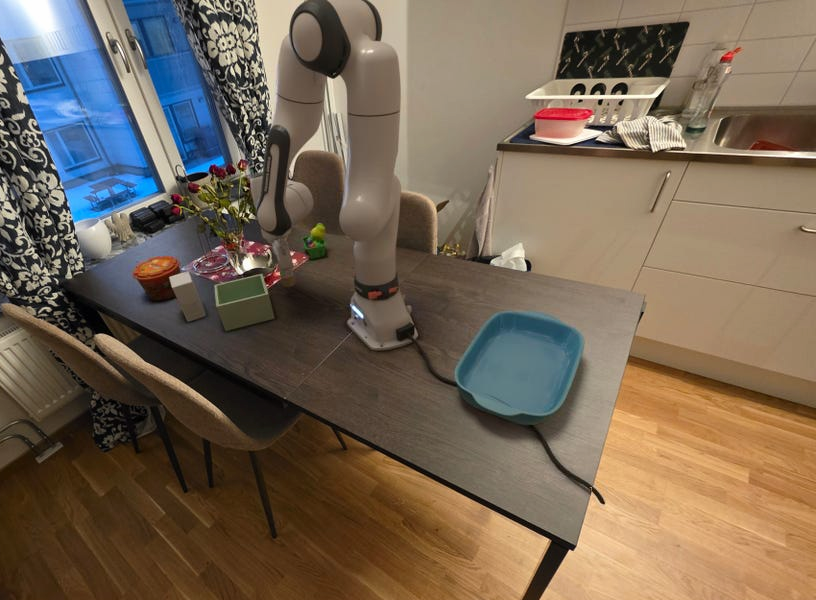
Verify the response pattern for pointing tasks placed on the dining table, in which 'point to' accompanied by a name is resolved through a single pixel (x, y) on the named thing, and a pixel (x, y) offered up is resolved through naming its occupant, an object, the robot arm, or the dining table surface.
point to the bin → (243, 302)
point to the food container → (157, 276)
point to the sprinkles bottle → (286, 279)
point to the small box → (187, 296)
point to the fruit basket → (316, 242)
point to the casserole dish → (520, 366)
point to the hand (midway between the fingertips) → (285, 269)
